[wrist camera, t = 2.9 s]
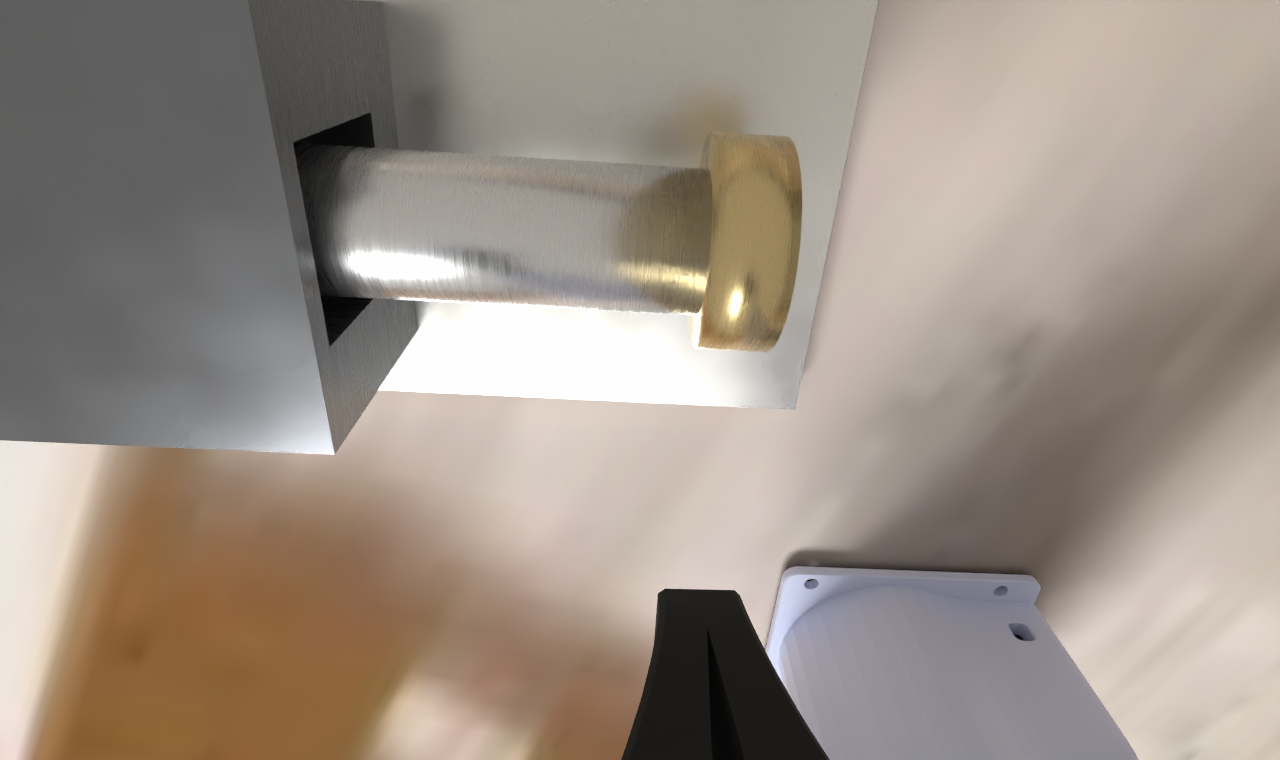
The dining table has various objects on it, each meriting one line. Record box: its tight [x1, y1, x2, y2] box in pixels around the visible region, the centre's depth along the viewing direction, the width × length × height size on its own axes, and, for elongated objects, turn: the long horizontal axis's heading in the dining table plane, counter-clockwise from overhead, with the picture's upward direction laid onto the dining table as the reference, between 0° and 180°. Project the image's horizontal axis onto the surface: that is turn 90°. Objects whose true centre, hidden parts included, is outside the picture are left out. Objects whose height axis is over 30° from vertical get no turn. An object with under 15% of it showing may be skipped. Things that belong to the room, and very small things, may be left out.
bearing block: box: [0, 0, 878, 455], centre depth 15 cm, size 22×12×7 cm, turn 86°
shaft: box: [293, 131, 802, 352], centre depth 14 cm, size 15×4×4 cm, turn 86°
